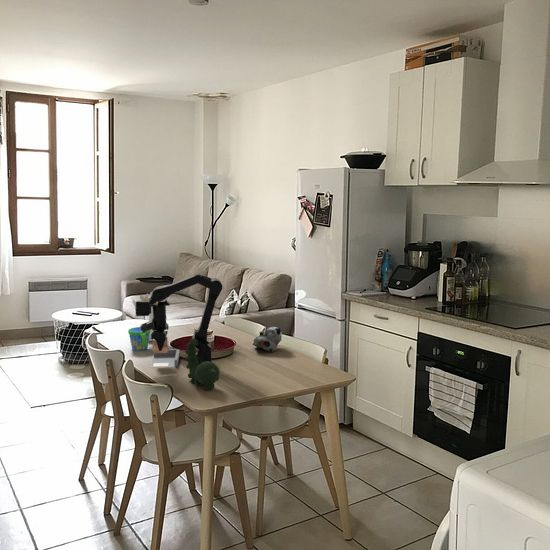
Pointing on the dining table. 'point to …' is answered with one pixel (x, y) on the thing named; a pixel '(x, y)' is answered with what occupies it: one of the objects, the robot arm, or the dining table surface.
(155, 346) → the terracotta block
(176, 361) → the two-wall tray
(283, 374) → the dining table surface
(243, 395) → the dining table surface
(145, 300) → the flower vase
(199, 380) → the toy figurine
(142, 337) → the snack cup
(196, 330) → the robot arm
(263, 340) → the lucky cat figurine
